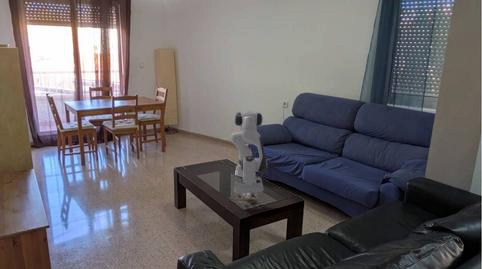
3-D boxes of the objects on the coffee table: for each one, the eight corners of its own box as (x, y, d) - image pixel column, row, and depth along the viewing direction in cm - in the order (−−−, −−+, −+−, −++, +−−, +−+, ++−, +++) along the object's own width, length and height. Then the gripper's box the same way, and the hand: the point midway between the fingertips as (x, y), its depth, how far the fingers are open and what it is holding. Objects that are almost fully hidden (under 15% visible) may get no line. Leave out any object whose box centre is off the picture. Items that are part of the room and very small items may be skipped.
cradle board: (232, 192, 258) (232, 188, 258) (253, 191, 261) (253, 187, 261) (237, 204, 237) (237, 200, 237) (259, 203, 240) (259, 199, 239)
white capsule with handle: (241, 197, 248) (241, 188, 246) (249, 196, 249) (249, 187, 247) (244, 203, 238) (244, 193, 236) (252, 202, 239) (252, 193, 237)
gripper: (235, 182, 229) (235, 201, 232) (264, 180, 232) (263, 199, 235) (233, 178, 235) (233, 197, 238) (262, 177, 238) (261, 195, 241)
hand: (248, 198), depth 237 cm, fingers open, 8 cm apart
